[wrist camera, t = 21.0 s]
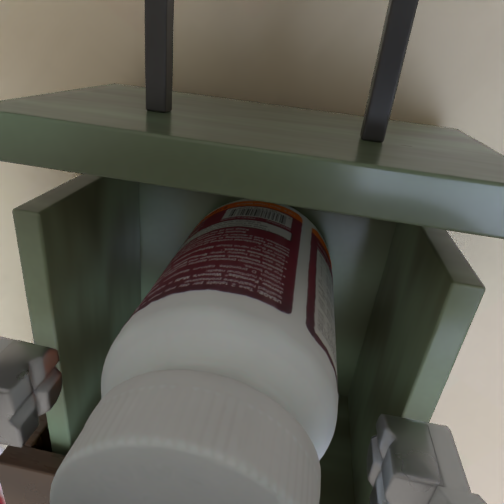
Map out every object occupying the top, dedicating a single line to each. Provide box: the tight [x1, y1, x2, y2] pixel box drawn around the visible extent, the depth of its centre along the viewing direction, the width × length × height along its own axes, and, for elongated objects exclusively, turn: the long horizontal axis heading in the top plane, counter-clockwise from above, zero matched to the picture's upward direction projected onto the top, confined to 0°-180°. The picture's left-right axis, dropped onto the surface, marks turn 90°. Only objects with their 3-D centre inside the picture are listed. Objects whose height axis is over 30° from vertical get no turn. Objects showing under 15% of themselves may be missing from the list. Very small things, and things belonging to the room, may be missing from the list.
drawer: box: [0, 0, 504, 504], centre depth 14 cm, size 19×13×8 cm
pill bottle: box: [49, 199, 339, 504], centre depth 13 cm, size 6×6×11 cm
